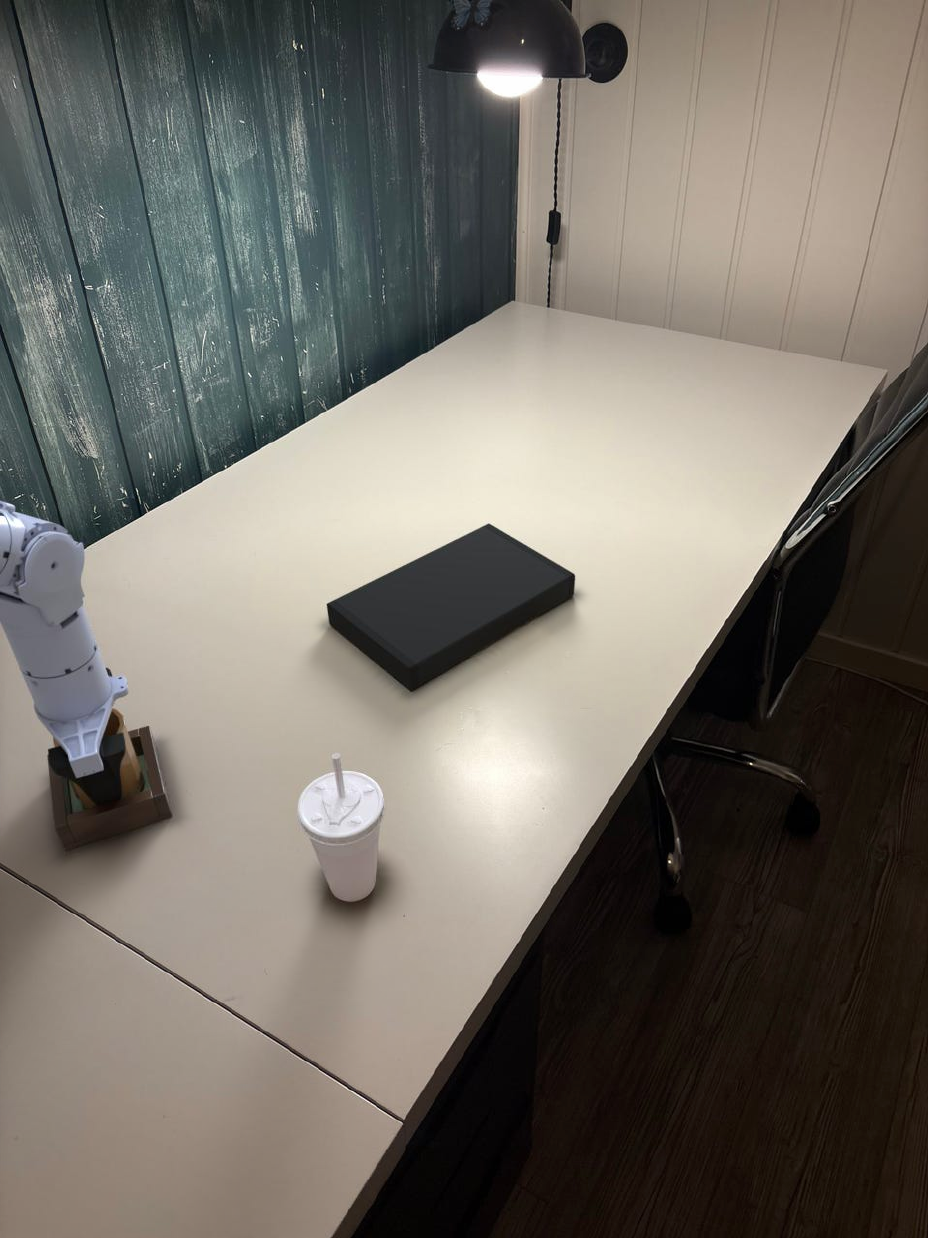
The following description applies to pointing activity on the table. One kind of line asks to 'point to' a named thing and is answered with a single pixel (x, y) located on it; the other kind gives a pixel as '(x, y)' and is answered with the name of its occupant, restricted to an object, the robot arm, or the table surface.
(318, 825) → the smoothie
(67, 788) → the cup holder
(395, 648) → the external hard drive
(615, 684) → the table surface
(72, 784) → the paper cup
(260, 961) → the table surface
